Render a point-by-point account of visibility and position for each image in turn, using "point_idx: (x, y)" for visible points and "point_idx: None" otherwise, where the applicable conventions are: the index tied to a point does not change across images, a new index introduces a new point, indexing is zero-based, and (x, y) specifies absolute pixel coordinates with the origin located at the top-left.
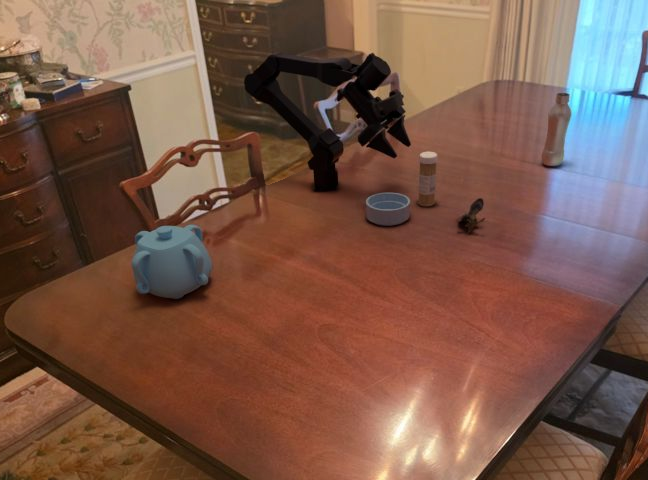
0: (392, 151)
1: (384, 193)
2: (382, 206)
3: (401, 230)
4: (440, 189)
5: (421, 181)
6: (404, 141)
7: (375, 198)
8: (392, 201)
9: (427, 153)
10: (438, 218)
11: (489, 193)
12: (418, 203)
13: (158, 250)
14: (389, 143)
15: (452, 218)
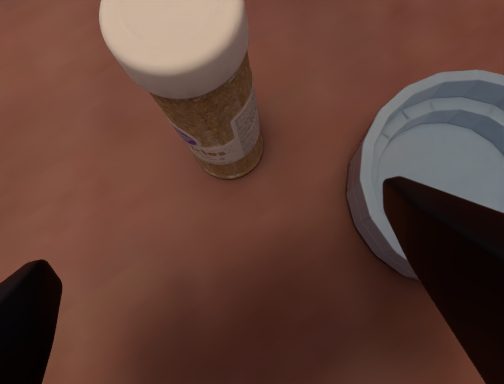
0: (452, 200)
1: None
2: None
3: None
4: (75, 184)
5: (254, 109)
6: (31, 334)
7: None
8: (382, 212)
9: (157, 17)
10: (314, 41)
11: (25, 24)
12: (253, 167)
13: None
14: (500, 248)
15: (283, 6)
